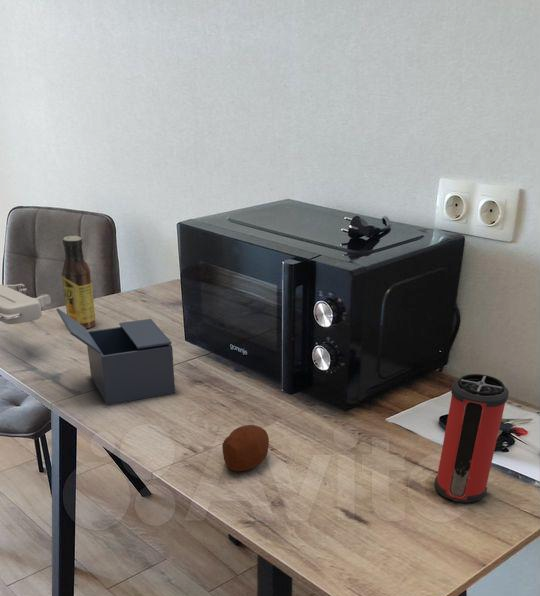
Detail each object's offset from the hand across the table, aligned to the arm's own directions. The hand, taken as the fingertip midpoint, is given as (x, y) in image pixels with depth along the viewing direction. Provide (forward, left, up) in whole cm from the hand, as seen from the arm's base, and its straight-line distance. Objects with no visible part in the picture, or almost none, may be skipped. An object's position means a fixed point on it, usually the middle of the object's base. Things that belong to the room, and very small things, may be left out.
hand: (36, 292), depth 150 cm
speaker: (+47, -86, -10) cm, 99 cm away
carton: (+11, -31, -10) cm, 35 cm away
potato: (+20, -66, -10) cm, 70 cm away
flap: (+3, -31, +3) cm, 31 cm away
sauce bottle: (+9, +4, -10) cm, 14 cm away
